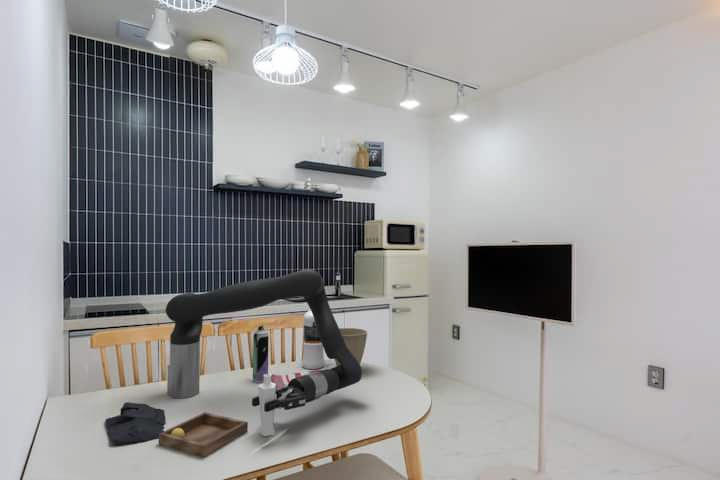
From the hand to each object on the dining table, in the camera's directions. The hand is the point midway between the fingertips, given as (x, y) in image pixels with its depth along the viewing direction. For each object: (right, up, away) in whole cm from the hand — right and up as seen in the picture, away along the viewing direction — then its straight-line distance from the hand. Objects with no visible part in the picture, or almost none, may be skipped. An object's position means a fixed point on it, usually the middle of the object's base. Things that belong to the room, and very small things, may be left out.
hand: (259, 405), depth 108 cm
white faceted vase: (+2, -8, +2) cm, 9 cm away
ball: (-20, -8, -3) cm, 21 cm away
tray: (-14, -9, -1) cm, 16 cm away
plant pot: (+21, -10, +58) cm, 62 cm away
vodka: (+7, -10, +65) cm, 66 cm away
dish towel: (+6, -10, +44) cm, 46 cm away
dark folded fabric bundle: (-34, -9, +6) cm, 36 cm away
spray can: (-11, -9, +46) cm, 48 cm away
